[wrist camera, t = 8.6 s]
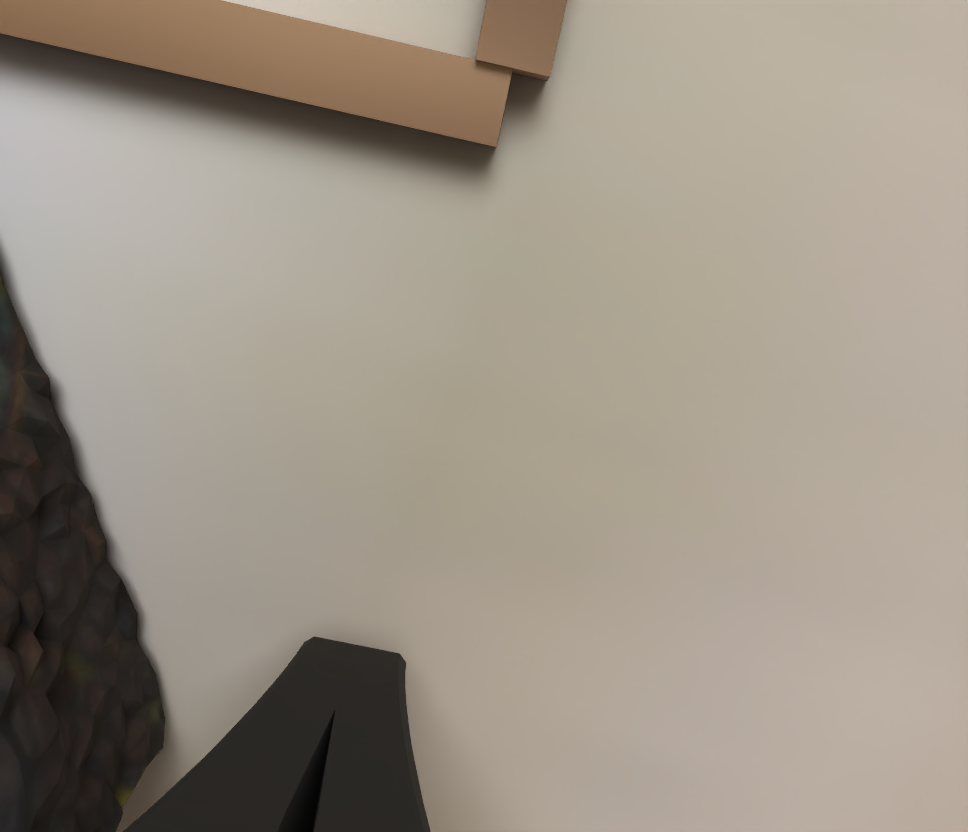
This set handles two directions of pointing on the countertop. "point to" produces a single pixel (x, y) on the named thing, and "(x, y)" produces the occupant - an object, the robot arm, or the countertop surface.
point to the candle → (61, 627)
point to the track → (311, 56)
